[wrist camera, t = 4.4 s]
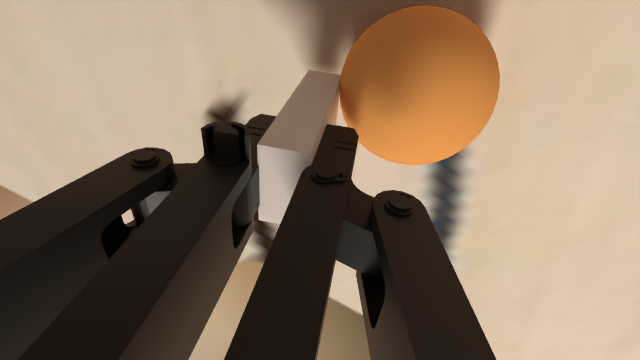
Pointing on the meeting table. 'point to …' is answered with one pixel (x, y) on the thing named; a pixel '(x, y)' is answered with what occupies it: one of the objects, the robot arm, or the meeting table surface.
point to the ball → (419, 85)
